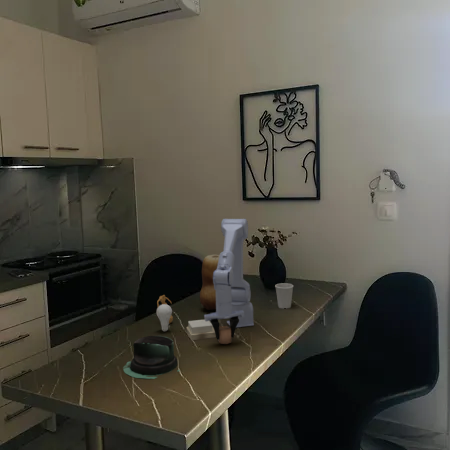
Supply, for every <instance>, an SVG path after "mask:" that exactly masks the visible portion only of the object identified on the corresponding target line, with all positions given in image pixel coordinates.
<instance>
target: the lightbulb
mask: <svg viewBox="0 0 450 450" xmlns="http://www.w3.org/2000/svg"><path fill="white" fill-rule="evenodd" d="M172 314H173V310H172V307H171V306H170V305H168V304H167V305H166V304H162V303H161V304H159V307H158V306H157V308H156V316H157V317H158V319H159V323H160V326H161V331H163V332H167V331H169V324H170V323H169V319H170V317H171V315H172ZM172 316H173V315H172Z"/></svg>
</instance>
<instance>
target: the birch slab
mask: <svg viewBox="0 0 450 450" xmlns="http://www.w3.org/2000/svg"><path fill="white" fill-rule="evenodd" d="M212 327H213V326H212ZM185 329H186V331H185V332H186V334H187V335H188V337H189V339H190V340H191V341H196V340H202V339H203V340H204V339H212V338H216V334H215V331H214V328H213V332H205V333H196V334H192V333H191V331H190V329H189V328H188V326H186V327H185Z"/></svg>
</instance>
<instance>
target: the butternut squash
mask: <svg viewBox="0 0 450 450" xmlns="http://www.w3.org/2000/svg"><path fill="white" fill-rule="evenodd" d="M219 256H220V254H215V253H214V254H208V255H206V256H205V257H204V259H203V261H202V266H201V279H202V287H201V289H200V291H199V301H200V304H201V305H202V307H204V308H205V309H206V310H209V311H216V290H215V289H214V283H213V273H214V271H215V270H216V269H217V265H218V260H219Z"/></svg>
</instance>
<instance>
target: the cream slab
mask: <svg viewBox="0 0 450 450" xmlns="http://www.w3.org/2000/svg"><path fill="white" fill-rule="evenodd" d="M187 324H188V325H187V327H188V328H189V329H190V331H191V333H192V334H196V333H205V332H213V327H212V323H211V322H210V320H209V321H205V320H204V319H197V320H196V319H195V320H188V323H187Z"/></svg>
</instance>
